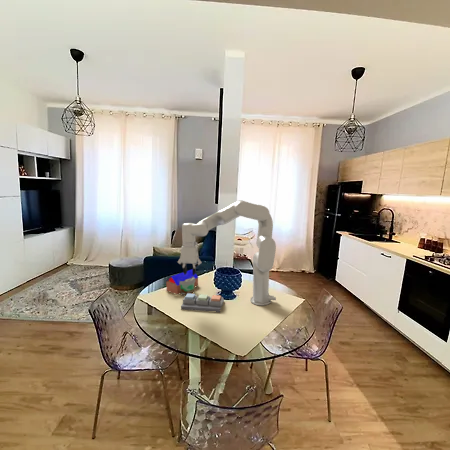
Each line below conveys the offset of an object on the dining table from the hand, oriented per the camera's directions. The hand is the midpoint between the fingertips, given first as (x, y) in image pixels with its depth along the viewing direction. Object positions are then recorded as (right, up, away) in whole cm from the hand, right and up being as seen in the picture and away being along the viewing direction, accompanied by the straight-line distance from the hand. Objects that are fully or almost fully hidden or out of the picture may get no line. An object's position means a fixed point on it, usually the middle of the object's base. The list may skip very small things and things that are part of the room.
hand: (189, 273), depth 151 cm
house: (-9, -16, +28) cm, 33 cm away
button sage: (+8, -16, +1) cm, 18 cm away
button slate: (0, -16, +2) cm, 16 cm away
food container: (-3, -17, +18) cm, 25 cm away
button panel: (+8, -19, +2) cm, 21 cm away
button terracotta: (+16, -16, 0) cm, 23 cm away
